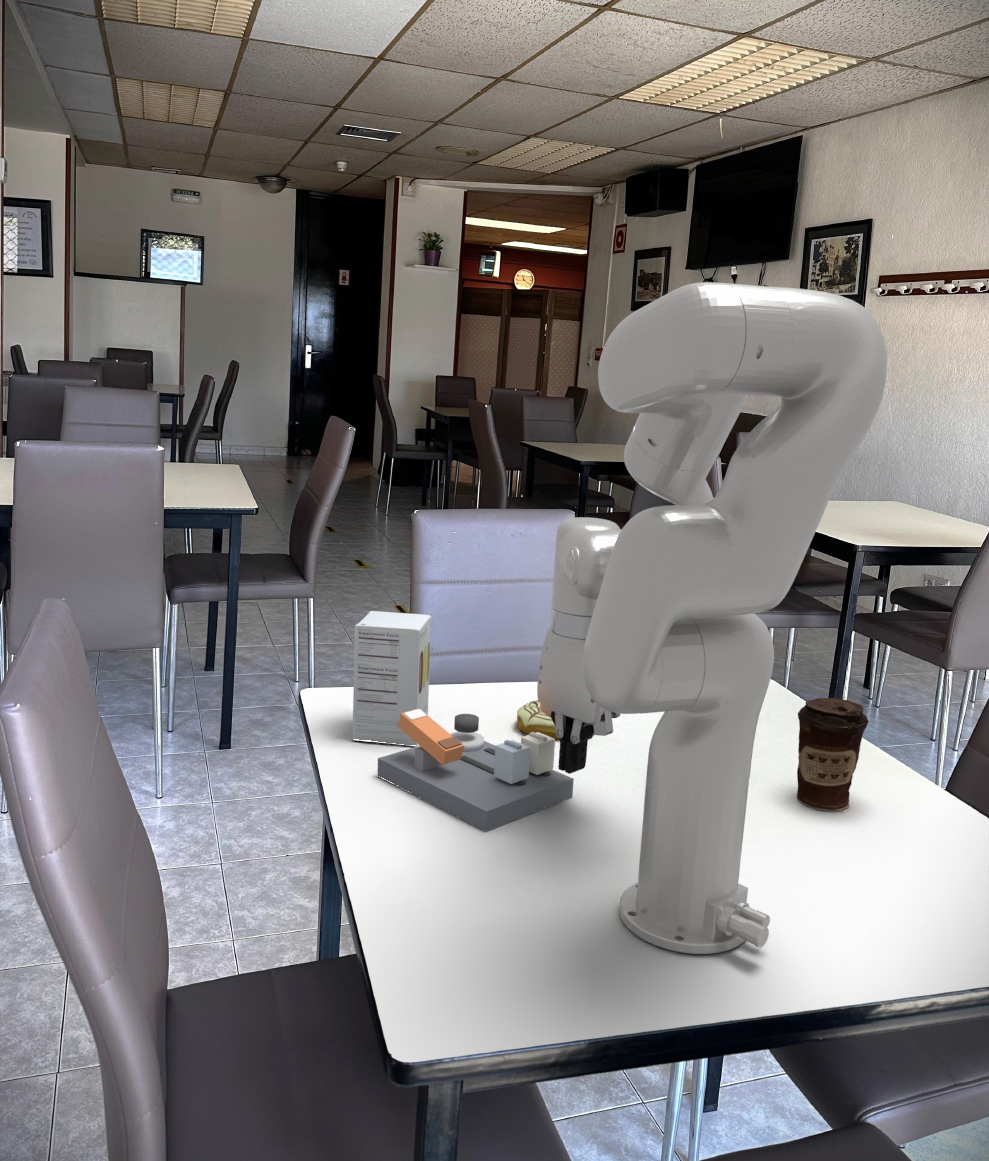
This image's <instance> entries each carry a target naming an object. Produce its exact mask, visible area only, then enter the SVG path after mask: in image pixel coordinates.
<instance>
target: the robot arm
mask: <svg viewBox="0 0 989 1161" xmlns="http://www.w3.org/2000/svg"><path fill="white" fill-rule="evenodd" d="M886 348H887V347H886V342H885V339H884V336H883V332H882V330H881V327H880V325H879V324H878V321H877V319H876V318H875V317H874V315H873V314H872V313H871V312H870V311H869V310H868V309H866V308H865V307H864V306H863V305H861V304H860V303H859V302H856V301H855V300H853V299H850V298H847V297H844V296H842V295H839V294H835V293H832V292H826V291H821V290H814V289H805V288H795V287H785V286H784V287H783V286H782V287H781V286H780V287H779V286H765V285H764V286H763V285H754V284H753V285H752V284H740V283H731V282H729V283H728V282H727V283H726V282H711V281H710V282H709V281H708V282H707V281H706V282H705V281H704V282H695V283H689V284H686V285H683V286H680V287H678V288H676V289H674V290H672V291H670V292H668V293H666V294H664V295H663V296H661V297H659V298H657V299H655V300H653V301H650V303H648V304H646V305H643V306H642V307H640V308H639V309H637V310H635V311H633V312H632V313H630V314H629V315H627V316H626V317H625V318H624V319H622V320H621V321H620V322H619V323H618V324H617V325H616V326H615V328H614V329H613V331H611V333H610V335H609V336H608V338H607V340H606V341H605V344H604V347H603V348H602V351H601V355H600V359H599V363H598V368H597V371H598V372H597V381H598V389H599V392H600V395H601V397H602V399H603V401H604V402H605V403H606V405H608V406H609V407H610V408H611V409H612V410H614V411H616V412H619V413H624V414H639V415H638V417H637V419H636V422H635V423H634V426H633V429H632V431H631V433H630V435H629V438H628V439H627V442H626V445H625V448H624V450H623V460H624V465H625V468H626V470H627V471H628V473H629V474H630V476H631V477H632V478H633V479H634V481H635V482H636V483H638V484H639V485H640V486H641V487H643V488H644V489H645V490H647V491H648V492H650V493H652V494H654V495H655V496H658V497H659V498H662V499H663V500H666V501H668V503H671V504H673V505H671V504H670V505H659V506H653V507H650V508H649V507H648V508H646V509H643V510H642V511H640V512H638V513H636V514H635V515H634V516H632V517H631V518H630V519H629V520H628V521H627V522H626V523H625V525H624V526H623V527H622V528H620V526H619V525H618V524H617V523H616V522H614V521H612V520H608V519H604V518H598V517H589V516H588V517H587V516H585V517H583V516H582V517H581V516H579V517H569V518H565V519H563V521H561V522H560V523H559V525H558V527H557V530H556V537H555V551H554V567H553V568H554V569H553V580H552V583H553V584H552V596H551V597H552V599H551V610H550V611H551V613H550V624H549V626H550V627H549V628H548V629H547V630H546V633H545V637H544V641H543V644H542V649H541V654H540V660H539V666H538V674H537V675H538V676H537V686H536V687H537V689H536V690H537V692H536V693H537V700H538V701H539V702H540V703H541V704H540V710H541V711H542V712H543V713H544V714H546V715H547V716H549V717H551V719H552V721H553V723H554V725H555V726H556V735H557V736H558V737H559V738H560V739H559V753H558V767H557V768H558V770H559V771H562V772H564V773H567V774H569V775H570V774H574V773H576V772H579V771H581V770H583V769H585V768H586V764H587V763H586V762H587V755H588V754H587V753H588V741H589V740H591V739H593V737H594V736H600V737H601V736H603V737H604V736H608V735H611V734H612V733H613V732H614V725H613V719H617V718H619V717H621V715H637V714H640V715H641V714H652V713H662V712H663V713H662V716H661V717H660V719H659V721H658V723H657V724H656V726H655V728H654V731H653V733H652V737H651V740H650V743H649V749H648V758H647V767H646V778H645V789H644V790H645V791H644V802H643V815H642V826H641V828H642V829H641V838H640V850H639V860H638V861H639V863H638V875H637V882H635V883H634V884H632V885H630V886H629V887H627V889H626V890H624V892H623V893H622V895H621V897H620V903H619V915H620V918H621V920H622V922H623V923H624V924H625V926H626V927H627V929H628V930H630V931H631V933H632V934H634V935H636V936H637V937H639V938H640V939H642V940H644V941H645V942H647V943H649V944H652V945H654V946H657V947H660V948H662V949H666V950H667V951H669V950H670V951H673V952H676V953H677V952H678V953H681V954H691V955H692V954H693V955H710V954H718V953H724V952H726V951H729V950H732V949H734V948H737V947H739V946H740V945H742V944H743V943H744V942H748V943H749V944H751V945H754V946H755V947H757V948H758V949H761V948H762V947H764V946H765V945H766V943H767V941H768V939H769V934H770V930H769V928H768V927H769V926H770V923H771V922H770V921H771V917H770V915H769V914H767V913H764V912H763V911H759V910H757V909H754V908H752V907H750V903H748V895H749V894H748V893H749V888H748V887H747V886H746V885H743V884H741V883H739V879H740V871H741V870H740V869H741V862H742V861H741V860H742V851H743V849H742V848H743V841H744V833H745V832H744V831H745V821H746V813H747V811H746V810H747V804H748V793H749V786H750V785H749V784H750V777H751V770H752V769H751V768H752V760H753V759H752V758H753V753H754V752H753V751H754V744H755V738H756V731H757V726H758V722H759V717H760V713H761V709H762V708H763V705H764V704H763V703H764V701H765V697H766V694H767V691H768V688H769V685H770V682H771V678H772V674H773V669H774V662H775V649H774V642H773V638H772V634H771V633H770V631H769V629H768V626H767V625H766V624H765V622H764V621H763V619H761V618H760V617H759V616H758V615H756V614H760V613H761V614H762V613H763V612H766V611H769V610H772V609H774V608H776V607H777V606H778V605H780V603H782V601H783V599H785V598H786V595H787V594H788V593H789V591H790V589H791V587H792V585H793V583H794V582H795V579H796V576H797V575H798V573H799V570H800V568H801V565H802V564H803V561H804V558H805V557H806V554H807V553H808V551H809V548H810V545H811V542H812V541H813V538H814V536H815V533H816V531H817V529H818V527H819V525H820V522H821V520H822V519H823V516H824V513H825V510H826V508H827V506H828V503H829V500H830V498H831V496H832V494H833V492H834V490H835V488H836V485H837V484H838V482H839V480H840V478H841V476H842V475H843V473H844V472H845V470H846V468H847V467H848V465H849V463H850V462H851V460H852V458H853V457H854V455H855V454H856V452H857V450H858V449H859V447H860V446H861V444H862V443H863V441H864V439H865V437H866V436H867V434H868V432H869V430H870V429H871V427H872V425H873V422H874V420H875V418H876V416H877V413H878V411H879V409H880V406H881V403H882V399H883V397H884V392H885V388H886V387H885V386H886V381H887V371H888V359H887V358H888V356H887V349H886ZM751 396H752V397H778V398H779V397H780V398H781V402H780V404H779V406H778V407H777V408H776V409H775V410H773V411H772V412H771V413H769V415H767V416H766V417H765V418H763V419H762V420H761V421H760V422H758V424H757V425H756V426H755V427H753V429H752V430H751V431H749V433H748V434H747V435H746V436H745V437H744V439H743V440H742V441H741V443H740V444H739V445H738V447H737V448H736V450H734V453H733V454H732V456H731V458H730V460H729V464H728V466H727V470H726V472H725V476H724V478H723V480H722V483H721V484H720V487H719V490H718V491H717V493H716V495H715V496H713V493H712V490H711V487H710V486H709V483H708V481H707V479H706V478H707V477H708V475H709V473H710V471H711V469H712V467H713V466H714V464H715V462H716V460H717V457H718V455H719V454H720V453H721V451H722V449H723V446H724V444H725V442H726V441H727V439H728V437H729V435H730V433H731V431H732V429H733V427H734V425H735V423H736V421H737V419H738V417H739V415H740V413H741V411H742V410H743V408H744V406H745V404H746V402H747V400H748V398H749V397H751Z"/></svg>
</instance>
